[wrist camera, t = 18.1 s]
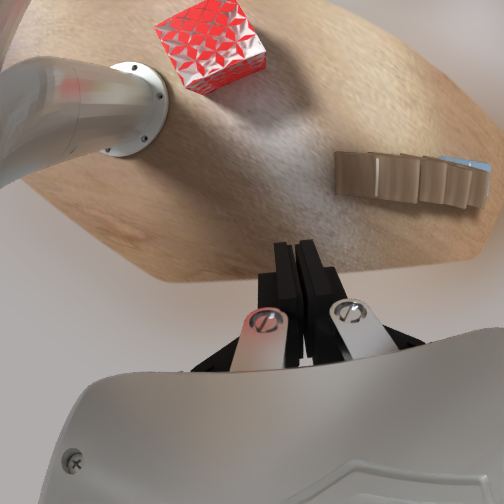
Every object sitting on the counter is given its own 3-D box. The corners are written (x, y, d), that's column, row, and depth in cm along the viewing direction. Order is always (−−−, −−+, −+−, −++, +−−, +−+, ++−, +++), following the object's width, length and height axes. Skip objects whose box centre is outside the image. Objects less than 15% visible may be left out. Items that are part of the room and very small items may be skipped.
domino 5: (442, 193, 29) (487, 196, 28) (445, 157, 27) (491, 164, 26) (436, 190, 31) (481, 193, 30) (439, 155, 29) (484, 162, 28)
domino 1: (334, 194, 31) (416, 204, 26) (334, 152, 29) (420, 160, 24) (337, 191, 32) (415, 200, 28) (336, 151, 30) (418, 158, 25)
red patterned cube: (177, 45, 24) (153, 27, 17) (237, 17, 23) (229, -10, 16) (204, 96, 28) (185, 88, 20) (266, 68, 26) (266, 51, 19)
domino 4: (420, 194, 30) (484, 209, 26) (424, 157, 27) (490, 173, 23) (419, 191, 31) (480, 205, 27) (423, 155, 29) (486, 170, 24)
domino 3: (396, 193, 30) (465, 209, 26) (400, 154, 28) (472, 171, 23) (396, 190, 31) (463, 205, 27) (400, 153, 29) (469, 169, 25)
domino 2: (366, 194, 30) (443, 204, 26) (367, 153, 28) (447, 163, 24) (367, 190, 32) (440, 200, 27) (368, 152, 29) (444, 161, 25)
